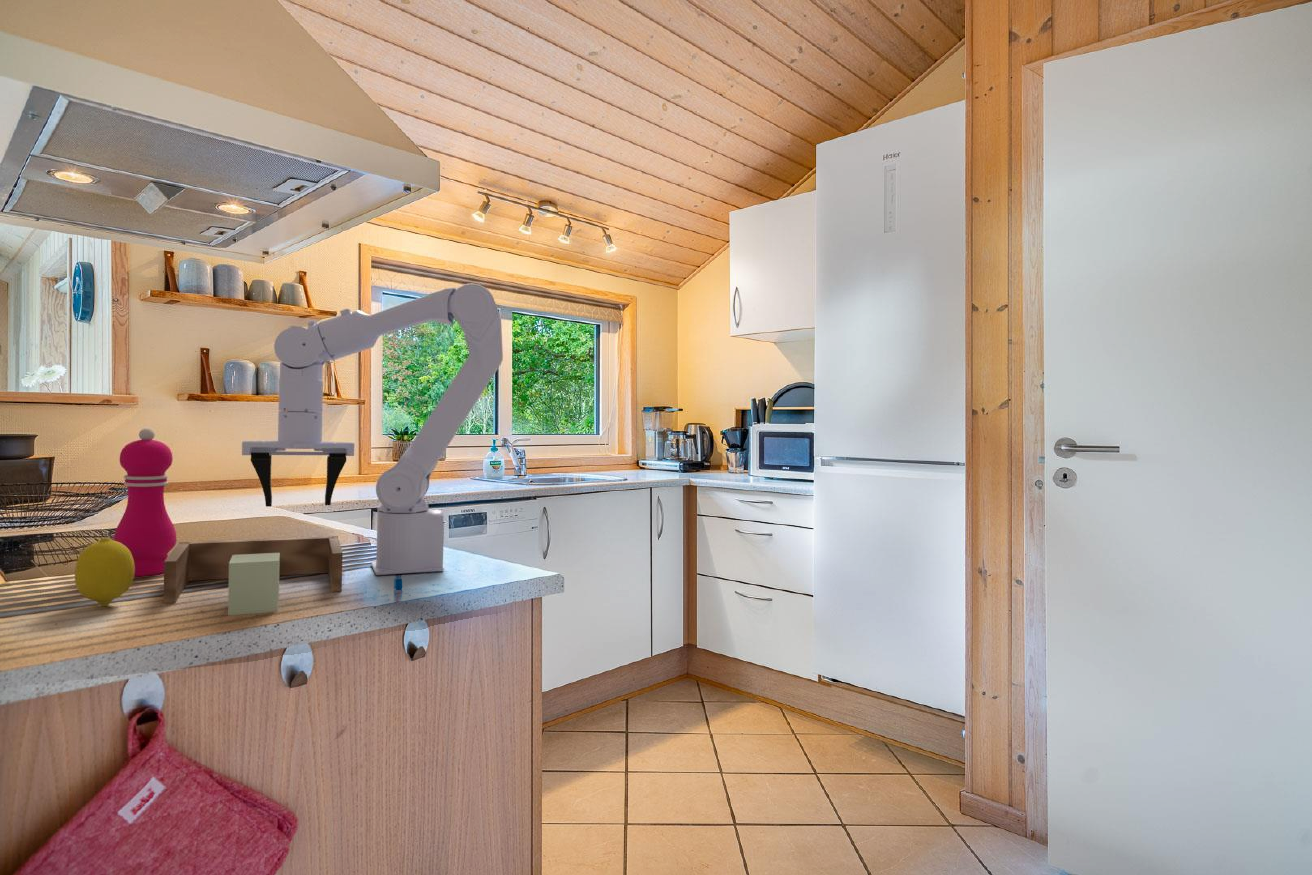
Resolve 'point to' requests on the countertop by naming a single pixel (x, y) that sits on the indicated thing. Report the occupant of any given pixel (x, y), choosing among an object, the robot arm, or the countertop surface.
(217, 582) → the countertop surface
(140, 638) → the countertop surface
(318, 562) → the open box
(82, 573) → the lemon
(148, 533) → the pepper mill
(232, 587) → the block
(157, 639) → the countertop surface
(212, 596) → the countertop surface
